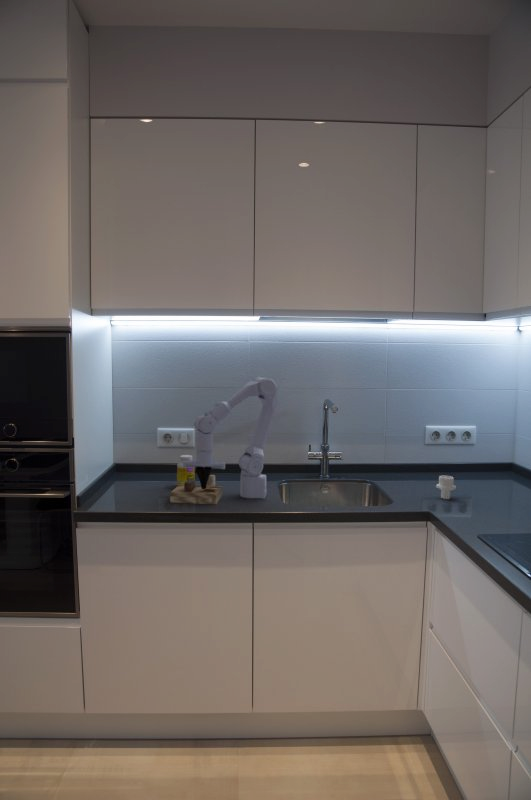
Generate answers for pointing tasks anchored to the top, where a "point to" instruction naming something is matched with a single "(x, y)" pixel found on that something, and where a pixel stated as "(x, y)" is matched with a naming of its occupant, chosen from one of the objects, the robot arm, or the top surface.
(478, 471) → the top surface
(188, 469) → the supplement bottle
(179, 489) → the lid
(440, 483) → the pipe fitting
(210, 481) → the pin
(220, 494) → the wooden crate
